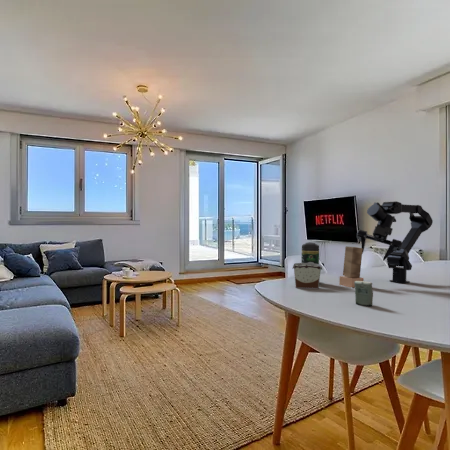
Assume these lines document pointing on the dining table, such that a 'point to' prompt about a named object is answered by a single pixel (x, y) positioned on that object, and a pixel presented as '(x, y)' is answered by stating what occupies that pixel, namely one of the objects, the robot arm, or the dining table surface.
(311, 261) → the coffee jar
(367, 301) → the grey-green rounded block
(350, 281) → the terracotta block
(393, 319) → the dining table surface
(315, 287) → the food container
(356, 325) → the dining table surface
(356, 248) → the walnut block
